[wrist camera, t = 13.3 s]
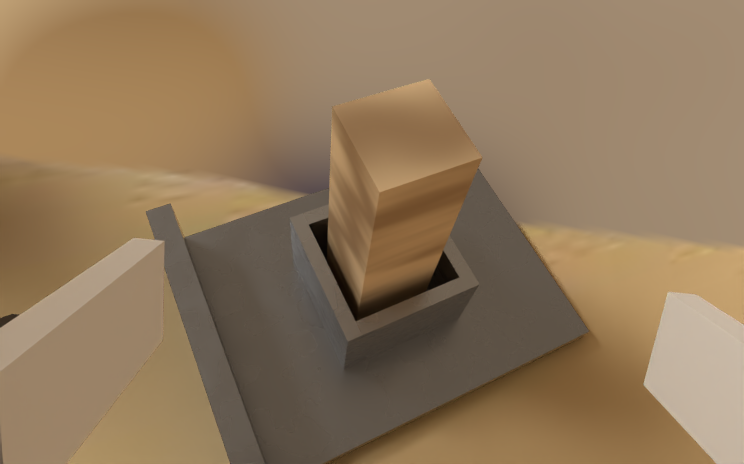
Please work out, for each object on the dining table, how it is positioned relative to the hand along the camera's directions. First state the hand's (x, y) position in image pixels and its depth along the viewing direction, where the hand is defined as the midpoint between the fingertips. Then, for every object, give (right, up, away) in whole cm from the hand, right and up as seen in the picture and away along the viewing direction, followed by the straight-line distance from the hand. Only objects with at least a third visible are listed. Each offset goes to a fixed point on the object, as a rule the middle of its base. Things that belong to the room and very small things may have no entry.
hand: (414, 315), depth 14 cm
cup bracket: (-1, -2, +21) cm, 21 cm away
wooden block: (-1, -1, +20) cm, 20 cm away
